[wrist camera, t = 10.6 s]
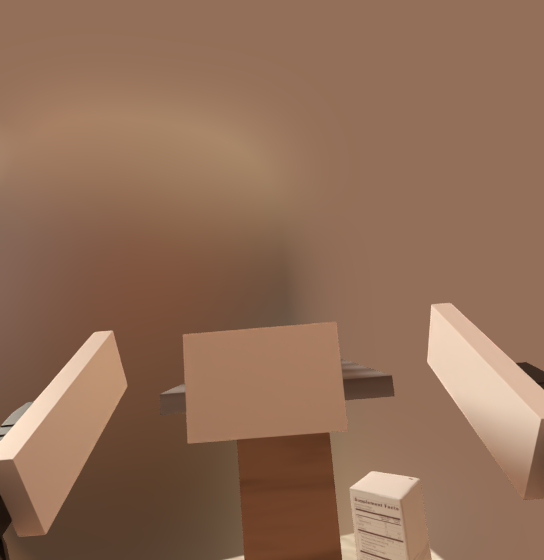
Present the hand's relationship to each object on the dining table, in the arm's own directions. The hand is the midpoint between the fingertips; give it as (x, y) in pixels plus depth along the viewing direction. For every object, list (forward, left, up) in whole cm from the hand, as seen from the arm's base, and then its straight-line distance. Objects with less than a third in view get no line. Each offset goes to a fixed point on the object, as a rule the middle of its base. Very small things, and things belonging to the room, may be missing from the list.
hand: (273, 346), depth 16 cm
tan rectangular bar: (+12, +5, -2) cm, 13 cm away
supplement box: (+41, +2, -33) cm, 53 cm away
